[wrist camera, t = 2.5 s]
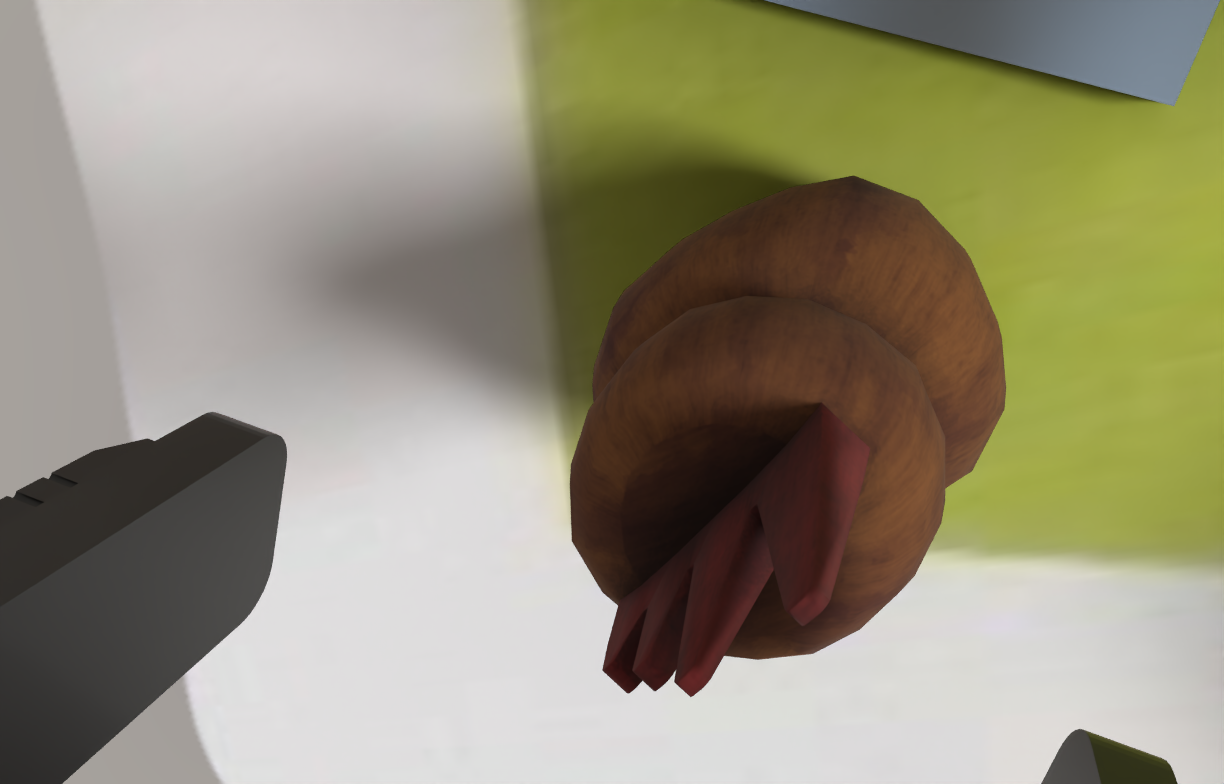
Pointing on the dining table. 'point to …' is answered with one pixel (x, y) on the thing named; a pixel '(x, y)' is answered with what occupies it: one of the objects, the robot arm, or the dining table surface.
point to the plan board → (1052, 35)
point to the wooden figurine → (780, 428)
